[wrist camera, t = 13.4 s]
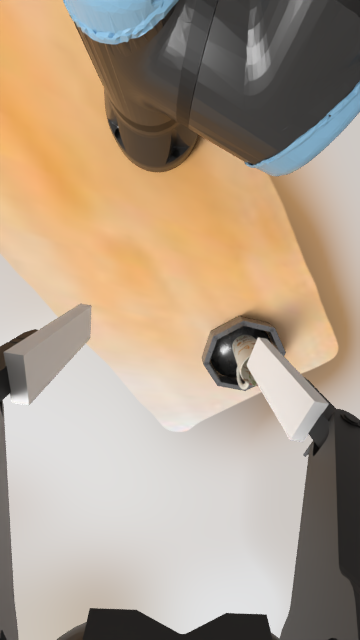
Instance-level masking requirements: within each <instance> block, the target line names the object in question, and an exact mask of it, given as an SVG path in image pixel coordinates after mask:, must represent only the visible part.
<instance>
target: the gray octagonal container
mask: <svg viewBox="0 0 360 640" xmlns="http://www.w3.org/2000/svg"><path fill="white" fill-rule="evenodd" d="M263 330H264V331H267V333H268V335H269V337H270V338H269V337H268V335H267V334H266V333H265V332H264V331H263ZM241 335H250V336H252V337H254V338H255V339H256V340H257V338H258V337H260V338H265V339H268V341H269V342H270V343H271V342H272V344H273V346H274V347H275V348H276V349H277V350H278V351H279V352H280V353H281V354H282V355H283V356H284V355H285V353H286V352H285V350H284V348H283V345H282V343H281V341H280V339H279V336H278V334H277V332H276V330H275V328H274V327H273V326H272V325H270V324H269V323H267V322H263V321H258V320H254V319H250V318H246V317H242V316H238V317H236V318H234V319H232V320H231V321H229V322H227V323H225V324H223V325H221V326H219V327H218V328H216V329H214V330H212V331H211V332H210V334H209V337H208V340H207V343H206V346H205V349H204V352H203V355H202V361H203V364H204V366H205V367H206V369H207V370H208V372H209V374H210V375H211V377H212V378H213V380H214V381H215V383H216V384H217V386H222V387H228V388H233V389H238V390H243V389H241V388H240V386H239V385H238V381H237V372H236V370H237V362H236V359H235V356H234V353H233V349H232V345H233V342H234V340H235V339H236V338H237V337H239V336H241ZM270 340H271V341H270ZM210 359H211V362H212V364H211V363H210ZM212 365H213V366H214V367H213V366H212ZM214 368H215V369H216V370H217V371H218V372H219V373H221V374H222V375H224V376H222V375H218V374H217V372H216V371H215V369H214ZM240 378H242V377H241V375H240ZM241 382H242V383H243V384H244V383H245V381H244V380H243V379H241ZM252 387H254V386H253V385H250V384H249V386H248V388H247V389H245V390H243V391H246V390H248V389H250V388H252Z"/></svg>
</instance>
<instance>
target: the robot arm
mask: <svg viewBox="0 0 360 640" xmlns="http://www.w3.org/2000/svg"><path fill="white" fill-rule="evenodd" d="M63 1H64V4H65V6H66V9H67V11H68V12H69V14H70V16H71V18H72V19H73V21H74V23H75V26H76V28H77V30H78V32H79V34H80V36H81V39H82V41H83V43H84V45H85V47H86V50H87V52H88V54H89V56H90V58H91V60H92V63H93V65H94V67H95V69H96V71H97V73H98V76H99V78H100V80H101V82H102V84H103V86H104V96H105V109H106V115H107V119H108V123H109V126H110V129H111V131H112V134H113V136H114V138H115V140H116V142H117V143H118V145H119V147H120V149H121V150H122V152H123V153H124V154H125V155H126V157H127V158H128V159H129V160H130V161H131V162H133V163H134V164H135V165H137V166H138V167H140V168H142V169H144V170H147V171H152V172H164V171H168V170H171V169H173V168H175V167H177V166H178V165H180V164H181V163H182V162H183V161H184V160H185V159H186V158H187V157H188V155H189V154H190V153H191V151H192V149H193V147H194V145H195V143H196V141H197V138H198V135H200V136H202V137H203V138H205V139H207V140H209V141H210V142H212V143H214V144H215V145H217V146H219V147H220V148H222V149H224V150H226V151H227V152H229V153H231V154H232V155H234V156H236V157H238V158H239V159H241V160H243V161H244V162H245V164H246V165H247V166H248V167H251V168H257V169H259V170H261V171H263V172H265V173H267V174H269V175H271V176H280V175H287V174H290V173H292V172H294V171H296V170H298V169H299V168H301V167H302V166H304V165H305V164H307V163H308V162H309V161H311V160H312V159H313V158H314V157H315V156H317V155H318V154H319V153H320V152H321V151H322V150H324V149H325V148H326V147H327V146H328V145H329V144H330V143H331V142H332V141H333V140H334V139H335V138H336V137H337V136H338V135H339V134H340V133H341V132H342V131H343V130H344V129H345V128H346V127H347V126H348V124H350V122H351V121H352V120H353V119H354V118H355V117H356V116H357V114H358V113H359V112H360V0H63ZM90 330H91V305H86V304H79V305H78V306H76V307H75V308H73V309H71V310H70V311H68V312H67V313H65V314H63V315H62V316H60V317H59V318H57V319H55V320H54V321H52V322H51V323H49V324H48V325H46V326H44V327H43V328H41V329H40V330H31V331H28V332H25V333H23V334H21V335H19V336H18V337H16V338H14V339H12V340H11V341H10V342H7V343H6V344H4V345H2V346H0V640H18V630H17V619H16V611H15V604H14V591H13V590H14V589H13V571H12V553H11V535H10V516H9V499H8V480H7V461H6V445H5V444H6V443H5V427H4V426H5V425H4V407H3V401H2V400H3V399H4V398H5V397H6V396H7V395H8V394H10V395H11V402H12V403H17V404H24V405H30V404H31V403H32V402H33V400H34V399H35V398H36V397H37V396H38V395H39V394H40V393H41V392H42V390H43V389H44V388H45V387H46V386H47V385H48V384H49V383H50V382H51V381H52V379H54V377H55V376H56V375H57V374H58V373H59V372H60V371H61V370H62V369H63V367H64V366H65V365H66V364H67V363H68V362H69V361H70V360H71V359H72V358H73V357H74V355H75V354H76V353H77V352H78V351H79V350H80V349H81V347H83V345H84V344H85V343H86V342H87V341H88V340H89V339H90ZM247 367H248V369H249V370H250V372H251V374H252V376H253V377H254V379H255V381H256V383H257V384H258V386H259V388H260V389H261V391H262V393H263V394H264V396H265V398H266V400H267V401H268V403H269V405H270V407H271V408H272V410H273V412H274V414H275V415H276V417H277V419H278V420H279V422H280V424H281V426H282V427H283V429H284V431H285V432H286V434H287V436H288V438H289V439H290V440H292V441H299V442H303V441H304V440H305V438H306V437H307V436H308V434H309V435H310V436H311V438H312V439H313V442H312V443H311V445H310V446H309V447H308V449H307V450H306V452H305V453H304V456H305V457H306V455H309V457H308V466H307V475H306V482H305V491H304V499H303V507H302V516H301V524H300V532H299V540H298V549H297V557H296V565H295V575H294V583H293V591H292V599H291V606H290V611H289V614H288V617H287V619H286V622H285V624H284V627H283V629H282V632H281V636H280V639H279V638H278V637H276V636H275V635H274V634H272V633H271V631H270V627H269V623H268V619H267V615H262V614H234V613H226V614H224V615H222V616H220V617H218V618H216V619H214V620H212V621H210V622H208V623H206V624H204V625H202V626H201V627H198V628H197V629H195V630H193V631H191V632H189V633H187V634H179V633H177V632H175V631H173V630H172V629H170V628H168V627H166V626H164V625H163V624H161V623H159V622H157V621H155V620H154V619H152V618H150V617H148V616H146V615H145V614H143V613H141V612H139V611H137V610H123V609H122V610H121V609H95V608H90V611H89V615H88V619H87V622H86V623H83V624H81V625H79V626H77V627H75V628H73V629H72V630H70V631H68V632H67V633H65V634H64V635H62V636H61V637H59V638H58V639H57V640H360V420H359V419H358V418H357V417H355V416H354V415H352V414H350V413H349V412H346V411H344V410H341V409H336V408H335V407H334V406H333V405H332V404H331V403H330V402H329V401H328V400H327V399H326V398H325V397H324V396H323V395H322V394H321V393H319V391H318V390H317V389H316V388H314V386H313V385H312V383H311V382H310V381H309V380H307V379H306V378H304V377H303V376H302V375H301V374H300V373H299V372H298V371H297V370H296V369H295V368H294V367H293V366H292V365H291V364H290V363H289V361H288V360H287V359H286V358H285V357H284V356H283V355H282V354H281V353H280V352H279V351H278V350H277V349H276V348H275V347H274V346H273V345H272V344H271V343H270V342H269V341H268V339H265V338H260V337H258V338H257V341H256V343H255V346H254V348H253V351H252V353H251V355H250V358H249V360H248V363H247Z"/></svg>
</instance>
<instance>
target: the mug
mask: <svg viewBox="0 0 360 640" xmlns="http://www.w3.org/2000/svg"><path fill="white" fill-rule="evenodd" d="M256 341H257V340H256V339H255V338H254V337H252V336H250V335H241V336H239V337H237V338H236V339H235V340H234V342H233V345H232V349H233V353H234V356H235V359H236V362H237V370H236V372H237V381H238V385H239V386H240V388H241V389H243V390H245V389H247V388H248V386H249V384H250V385H253V386H258V384H257V383H256V381H255V379H254V377H253V376H252V374H251V372H250V370H249V369H248V367H247V363H248V360H249V358H250V355H251V353H252V351H253V348H254V346H255V343H256ZM240 375H241V377H242V379H243V380H244V381H245V383H244V384H243V383H242V382H241V378H240Z"/></svg>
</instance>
